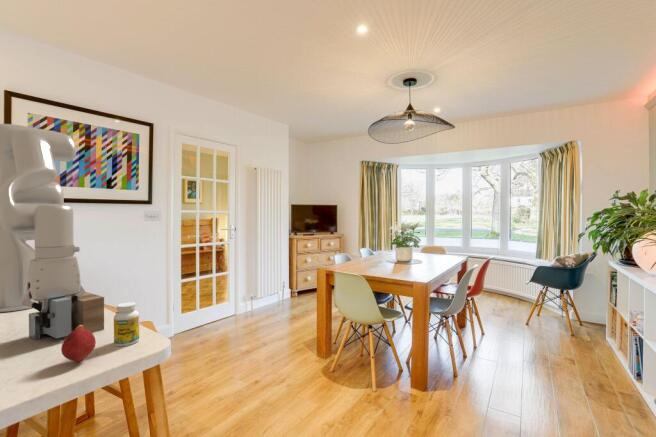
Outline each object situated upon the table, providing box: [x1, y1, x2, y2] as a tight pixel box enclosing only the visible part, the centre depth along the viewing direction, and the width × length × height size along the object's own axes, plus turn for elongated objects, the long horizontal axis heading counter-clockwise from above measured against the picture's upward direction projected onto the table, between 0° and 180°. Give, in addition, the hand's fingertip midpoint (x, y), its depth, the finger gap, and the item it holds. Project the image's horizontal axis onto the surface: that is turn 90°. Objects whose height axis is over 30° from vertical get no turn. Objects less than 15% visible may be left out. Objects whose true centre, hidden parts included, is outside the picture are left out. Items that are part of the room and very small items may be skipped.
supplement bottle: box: [113, 301, 140, 347], centre depth 80 cm, size 5×5×10 cm
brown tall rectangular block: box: [71, 291, 105, 334], centre depth 88 cm, size 10×5×9 cm, turn 60°
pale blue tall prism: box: [40, 297, 72, 339], centre depth 81 cm, size 10×4×9 cm, turn 60°
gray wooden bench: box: [28, 311, 47, 341], centre depth 85 cm, size 4×9×6 cm, turn 150°
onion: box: [60, 325, 96, 363], centre depth 69 cm, size 6×6×8 cm
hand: (55, 324), depth 82 cm, fingers closed on pale blue tall prism, 3 cm apart
